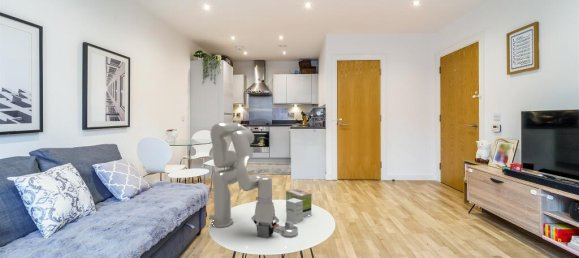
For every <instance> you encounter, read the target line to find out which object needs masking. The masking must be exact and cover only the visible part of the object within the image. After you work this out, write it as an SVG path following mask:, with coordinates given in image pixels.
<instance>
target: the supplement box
mask: <svg viewBox="0 0 579 258" xmlns="http://www.w3.org/2000/svg"><path fill="white" fill-rule="evenodd" d="M285 212H286V214H285V215H286V218H285V219H286V222H287V221H292V222H294V224H297V222H298V223H299V222H303V221H304V220H303V219H304V218H303V200H299V199H296V198H293V199H289V200H287V210H286V209H285Z"/></svg>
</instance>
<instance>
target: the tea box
mask: <svg viewBox="0 0 579 258" xmlns="http://www.w3.org/2000/svg"><path fill="white" fill-rule="evenodd" d="M293 198H296V199H299V200H303V217H305V216H308V215H311V216H312V193H311V192H308V191H305V190H302V189H299V188H294V189H290V190H286V191H285V202H286V203H285V211H286V210H287V200H289V199H293ZM308 217H309V216H308ZM305 218H306V217H305Z"/></svg>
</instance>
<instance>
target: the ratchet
mask: <svg viewBox="0 0 579 258" xmlns="http://www.w3.org/2000/svg"><path fill="white" fill-rule="evenodd" d="M294 224H295V223H294V222H292V221H287V220H286V222H285V223H284V225H283V226H282V225H280V224H278V223H277V224H276V225H275V226H274V227H273V233H274V232H275V233H278V234H280V235H281V236H282V237H284V238H287V239H288V238H291V239H292V238H296V237H297V236H298V235H299V234H298V233H299V229H298V228H299V227H297V226H295V225H294Z"/></svg>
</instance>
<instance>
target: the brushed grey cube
mask: <svg viewBox="0 0 579 258" xmlns="http://www.w3.org/2000/svg"><path fill="white" fill-rule="evenodd" d="M256 233H257V238H264V239H265V238H266V239H269V238H270V237H271V236H272V235H270V224H269V223H262V222H260V223H259V224H258V225H257V226H256Z"/></svg>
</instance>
